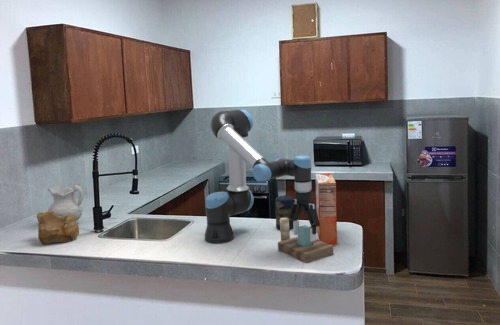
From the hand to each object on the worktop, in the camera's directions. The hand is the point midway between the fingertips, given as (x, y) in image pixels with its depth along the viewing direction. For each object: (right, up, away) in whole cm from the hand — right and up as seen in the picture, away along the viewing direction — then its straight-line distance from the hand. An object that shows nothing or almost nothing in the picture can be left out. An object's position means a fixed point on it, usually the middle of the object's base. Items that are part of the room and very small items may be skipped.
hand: (304, 237), depth 206 cm
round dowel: (-7, -5, +15) cm, 18 cm away
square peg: (0, -7, +1) cm, 7 cm away
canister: (-6, -1, +38) cm, 39 cm away
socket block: (0, -7, +1) cm, 7 cm away
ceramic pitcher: (-133, -3, +64) cm, 148 cm away
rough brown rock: (-129, -8, +35) cm, 134 cm away
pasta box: (+13, -3, +21) cm, 25 cm away
